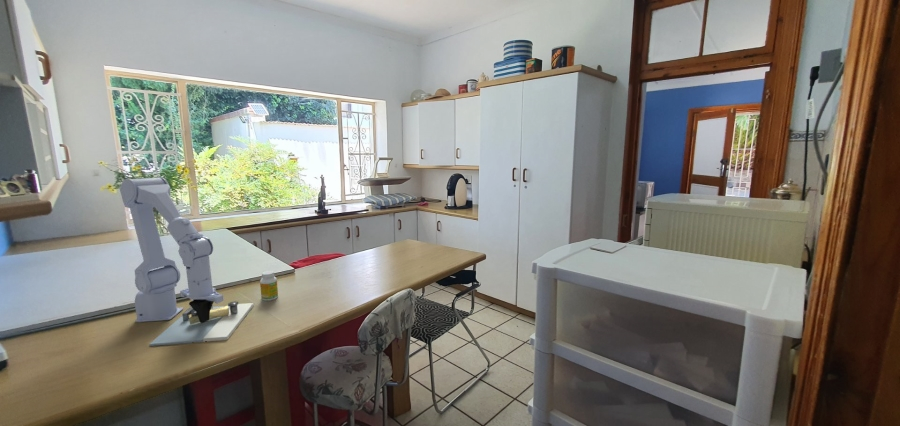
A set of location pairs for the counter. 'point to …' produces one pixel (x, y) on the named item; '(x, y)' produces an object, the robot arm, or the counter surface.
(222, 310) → the swing bar
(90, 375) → the counter surface
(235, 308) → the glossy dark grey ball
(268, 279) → the supplement bottle
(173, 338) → the door panel
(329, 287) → the counter surface
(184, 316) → the keeper
